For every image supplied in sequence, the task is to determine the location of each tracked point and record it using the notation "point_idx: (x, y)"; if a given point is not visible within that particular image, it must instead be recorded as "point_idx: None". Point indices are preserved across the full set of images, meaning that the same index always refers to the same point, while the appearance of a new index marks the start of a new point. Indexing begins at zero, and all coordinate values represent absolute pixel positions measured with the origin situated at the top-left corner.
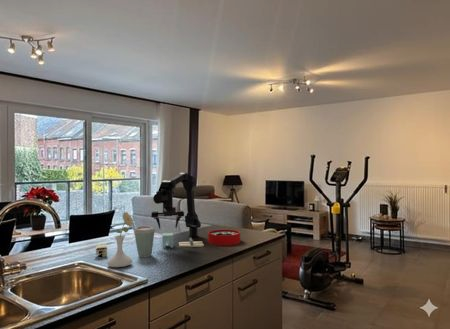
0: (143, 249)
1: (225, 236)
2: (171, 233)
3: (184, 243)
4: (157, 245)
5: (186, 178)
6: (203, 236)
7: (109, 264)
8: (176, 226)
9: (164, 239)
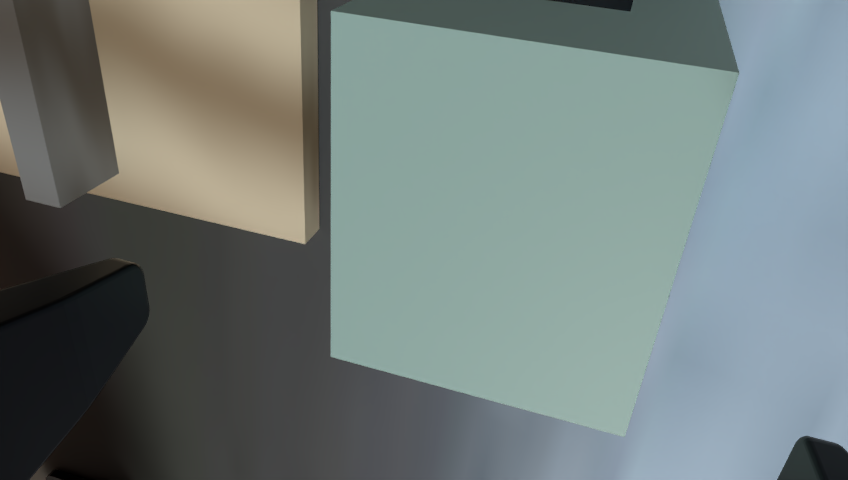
0: None
1: None
2: (369, 309)
3: (196, 82)
4: (755, 277)
5: None
6: None
7: None
8: (42, 281)
9: (664, 23)
